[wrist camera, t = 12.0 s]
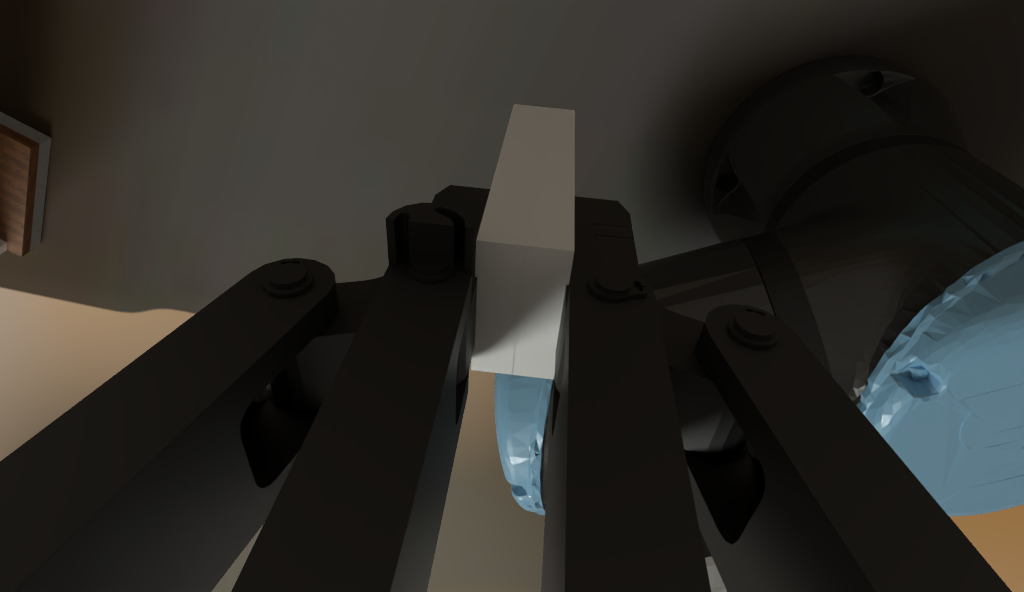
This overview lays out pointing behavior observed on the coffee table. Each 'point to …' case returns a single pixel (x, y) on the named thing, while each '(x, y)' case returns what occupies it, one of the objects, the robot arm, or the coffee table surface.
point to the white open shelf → (22, 185)
